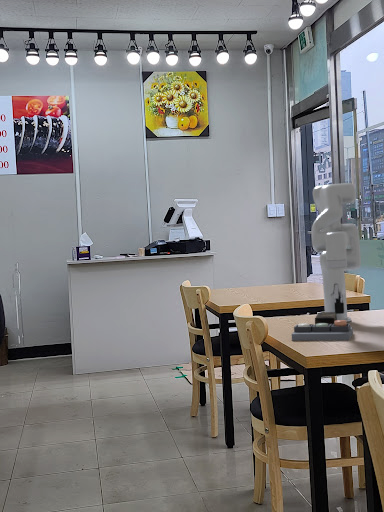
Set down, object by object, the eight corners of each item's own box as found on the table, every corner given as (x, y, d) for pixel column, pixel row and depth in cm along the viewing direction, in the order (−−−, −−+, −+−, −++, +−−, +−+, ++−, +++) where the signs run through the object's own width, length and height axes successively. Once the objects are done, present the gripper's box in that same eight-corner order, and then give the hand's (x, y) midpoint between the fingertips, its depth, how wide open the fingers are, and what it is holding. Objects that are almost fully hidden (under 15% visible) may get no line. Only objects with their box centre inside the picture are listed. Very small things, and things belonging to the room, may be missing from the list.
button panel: (298, 334, 252) (298, 322, 252) (352, 333, 244) (352, 322, 244) (291, 340, 239) (291, 328, 238) (348, 340, 231) (348, 328, 231)
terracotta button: (335, 325, 242) (335, 320, 242) (347, 325, 240) (347, 319, 240) (334, 327, 238) (333, 321, 238) (346, 327, 236) (345, 321, 236)
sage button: (317, 328, 244) (317, 323, 244) (328, 328, 243) (328, 323, 243) (315, 330, 240) (315, 325, 240) (327, 330, 239) (326, 324, 238)
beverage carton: (337, 325, 268) (336, 310, 267) (335, 333, 249) (334, 316, 249) (318, 326, 270) (317, 310, 270) (314, 334, 251) (313, 317, 251)
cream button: (299, 328, 247) (299, 323, 247) (310, 328, 245) (310, 323, 245) (297, 330, 243) (296, 325, 242) (308, 330, 241) (308, 325, 241)
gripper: (329, 264, 246) (332, 310, 247) (323, 266, 232) (326, 316, 233) (349, 263, 244) (352, 310, 244) (344, 265, 230) (347, 316, 230)
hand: (339, 313), depth 239 cm, fingers closed
